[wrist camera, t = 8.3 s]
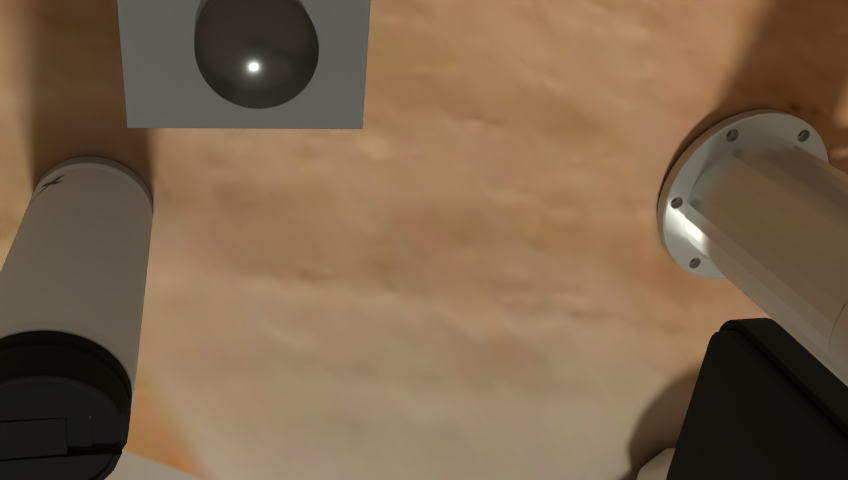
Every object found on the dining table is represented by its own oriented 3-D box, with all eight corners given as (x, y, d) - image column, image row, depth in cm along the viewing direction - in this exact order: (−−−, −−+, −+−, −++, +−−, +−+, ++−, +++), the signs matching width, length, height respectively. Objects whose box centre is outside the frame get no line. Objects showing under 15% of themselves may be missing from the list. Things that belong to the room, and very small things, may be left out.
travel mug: (22, 150, 42) (-94, 387, 25) (154, 157, 44) (127, 383, 27) (29, 253, 45) (-72, 529, 28) (152, 256, 47) (128, 516, 30)
